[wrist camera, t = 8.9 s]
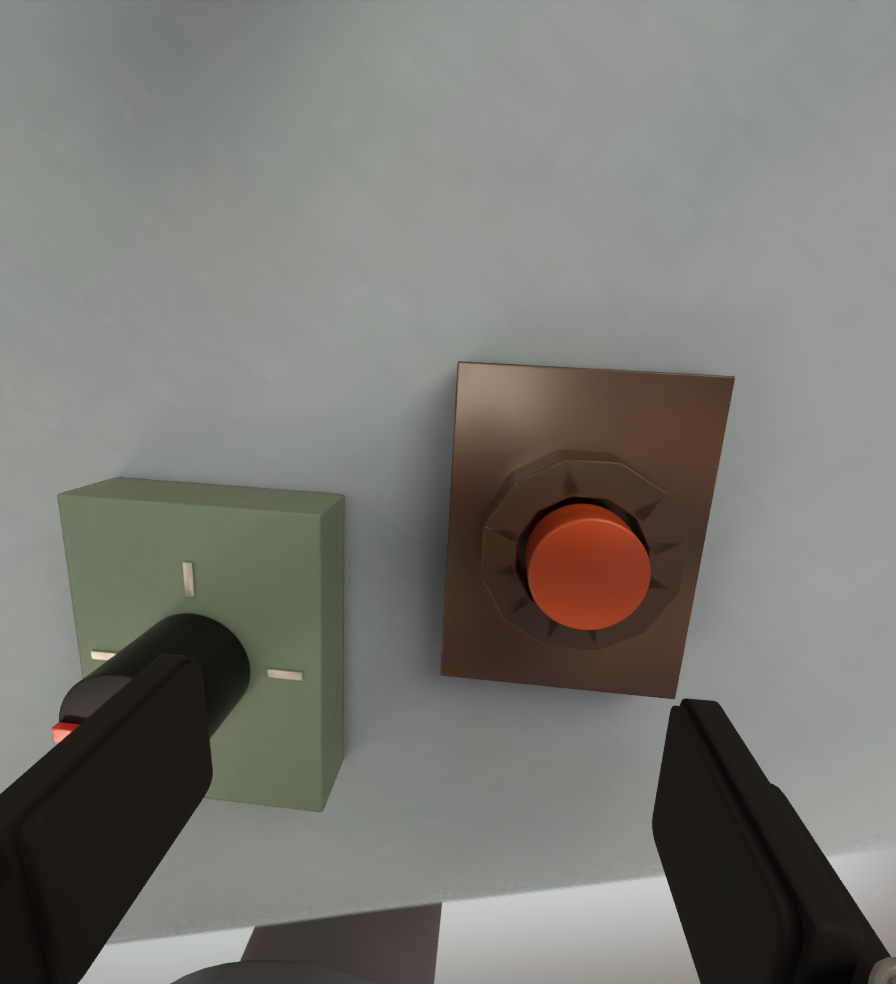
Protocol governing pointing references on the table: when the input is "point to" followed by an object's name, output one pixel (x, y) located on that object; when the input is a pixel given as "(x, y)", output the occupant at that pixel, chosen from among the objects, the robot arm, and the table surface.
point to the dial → (171, 635)
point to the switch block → (576, 480)
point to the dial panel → (227, 612)
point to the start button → (586, 567)
